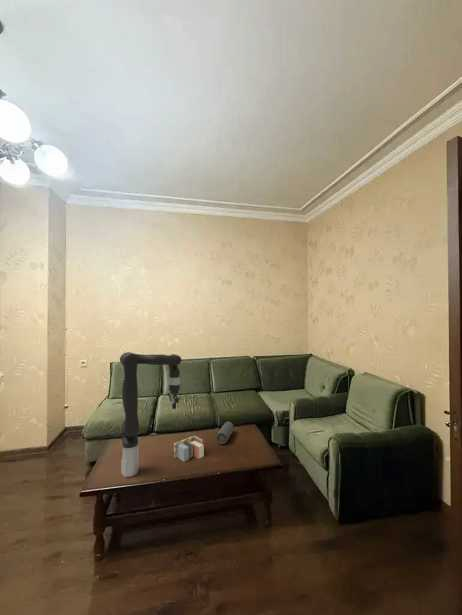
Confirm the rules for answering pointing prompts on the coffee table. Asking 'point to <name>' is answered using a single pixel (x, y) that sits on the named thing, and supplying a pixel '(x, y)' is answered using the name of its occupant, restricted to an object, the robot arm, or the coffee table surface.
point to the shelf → (190, 439)
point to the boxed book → (198, 449)
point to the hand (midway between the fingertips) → (174, 408)
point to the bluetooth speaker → (225, 432)
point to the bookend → (190, 448)
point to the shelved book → (183, 452)
